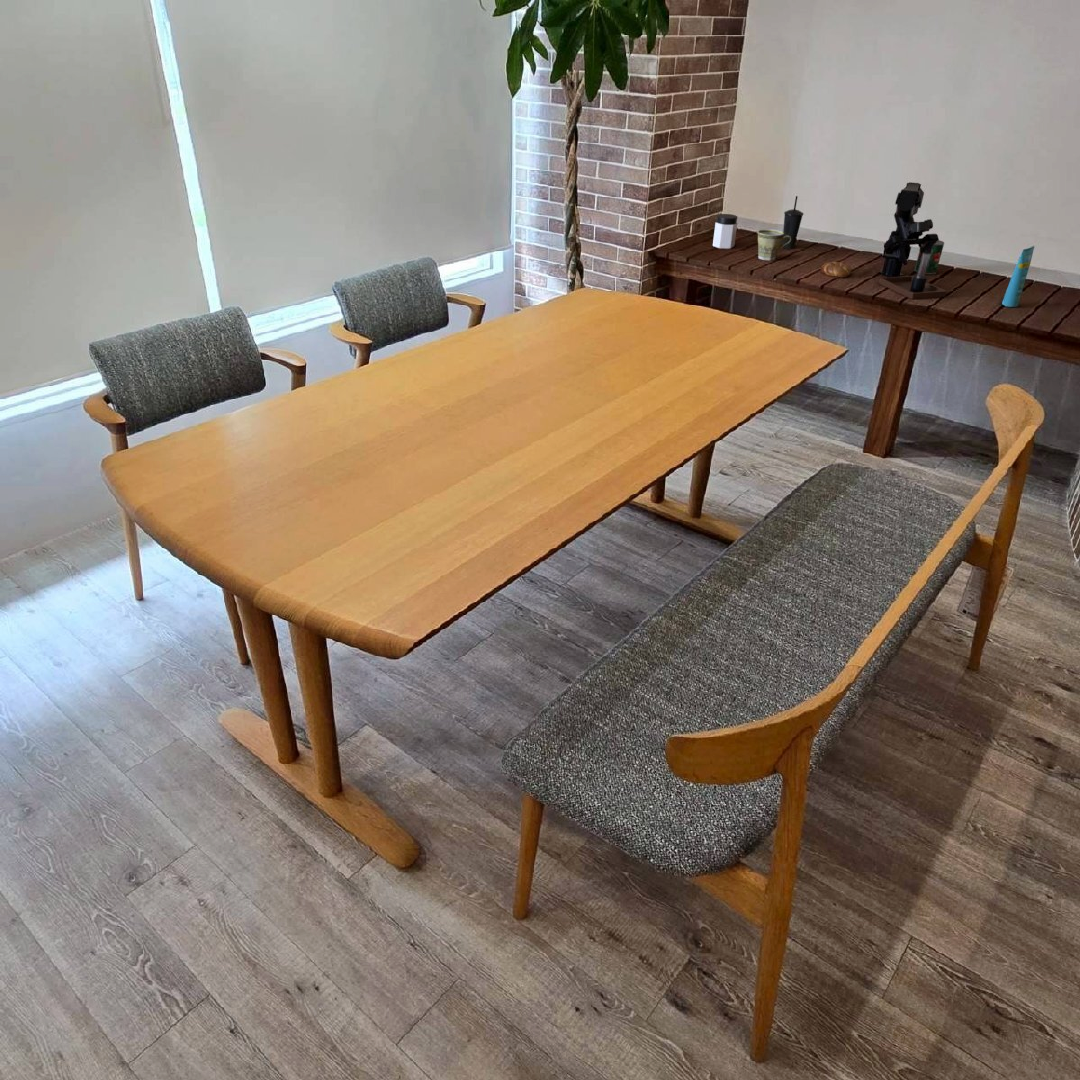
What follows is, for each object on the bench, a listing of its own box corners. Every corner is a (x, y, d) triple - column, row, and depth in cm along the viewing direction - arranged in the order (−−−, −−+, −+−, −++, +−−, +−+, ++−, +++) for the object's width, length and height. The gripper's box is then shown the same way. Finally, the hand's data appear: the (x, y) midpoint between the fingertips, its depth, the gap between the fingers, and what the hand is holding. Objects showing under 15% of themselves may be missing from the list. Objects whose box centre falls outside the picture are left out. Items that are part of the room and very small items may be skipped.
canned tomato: (938, 274, 314) (946, 244, 308) (916, 273, 316) (923, 243, 310) (934, 269, 321) (942, 239, 315) (912, 267, 322) (920, 238, 316)
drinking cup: (799, 249, 343) (808, 198, 332) (780, 249, 343) (789, 198, 332) (794, 245, 349) (803, 194, 338) (776, 244, 349) (785, 194, 338)
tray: (878, 283, 304) (879, 277, 303) (910, 281, 307) (912, 275, 306) (911, 299, 288) (913, 293, 287) (945, 296, 291) (947, 291, 290)
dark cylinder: (907, 289, 296) (917, 252, 289) (918, 288, 297) (927, 251, 290) (915, 293, 293) (925, 255, 286) (925, 292, 294) (936, 254, 287)
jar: (732, 244, 349) (736, 214, 343) (735, 249, 342) (740, 218, 336) (711, 243, 349) (715, 213, 343) (713, 248, 343) (717, 217, 336)
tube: (1012, 309, 280) (1032, 250, 270) (998, 305, 283) (1016, 247, 273) (1021, 304, 285) (1040, 246, 274) (1006, 301, 288) (1025, 244, 277)
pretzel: (855, 278, 308) (858, 268, 306) (826, 278, 308) (828, 268, 306) (845, 269, 318) (847, 259, 316) (817, 269, 318) (819, 259, 316)
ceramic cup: (753, 260, 328) (756, 234, 322) (755, 254, 336) (758, 228, 330) (786, 263, 325) (791, 236, 319) (788, 257, 333) (792, 231, 327)
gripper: (897, 212, 286) (908, 253, 283) (943, 209, 290) (955, 250, 288) (877, 230, 297) (889, 270, 294) (922, 227, 301) (934, 267, 298)
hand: (917, 264), depth 293 cm, fingers open, 9 cm apart
